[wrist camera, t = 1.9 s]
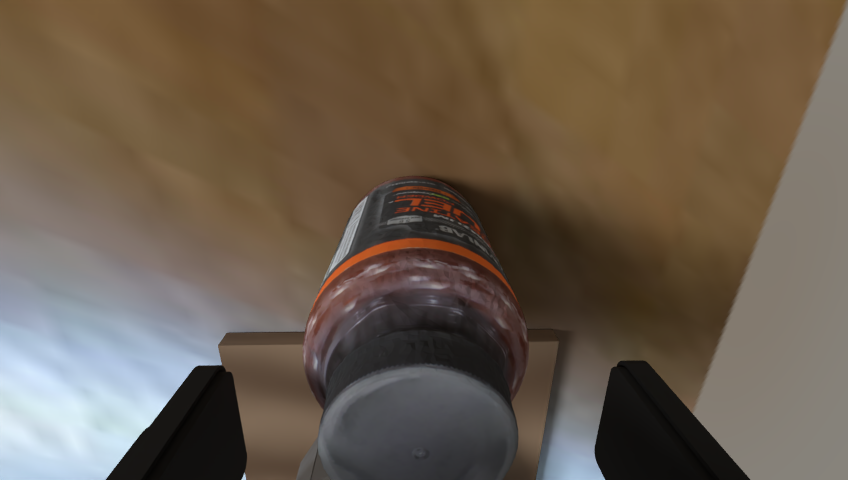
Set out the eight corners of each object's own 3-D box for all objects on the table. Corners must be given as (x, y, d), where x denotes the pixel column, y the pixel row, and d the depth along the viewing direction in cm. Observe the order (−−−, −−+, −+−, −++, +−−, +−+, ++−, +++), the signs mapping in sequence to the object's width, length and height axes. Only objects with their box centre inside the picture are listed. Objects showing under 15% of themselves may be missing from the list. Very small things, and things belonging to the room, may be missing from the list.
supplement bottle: (498, 193, 18) (632, 367, 7) (454, 307, 20) (509, 569, 9) (364, 153, 17) (297, 287, 6) (333, 277, 19) (244, 530, 9)
